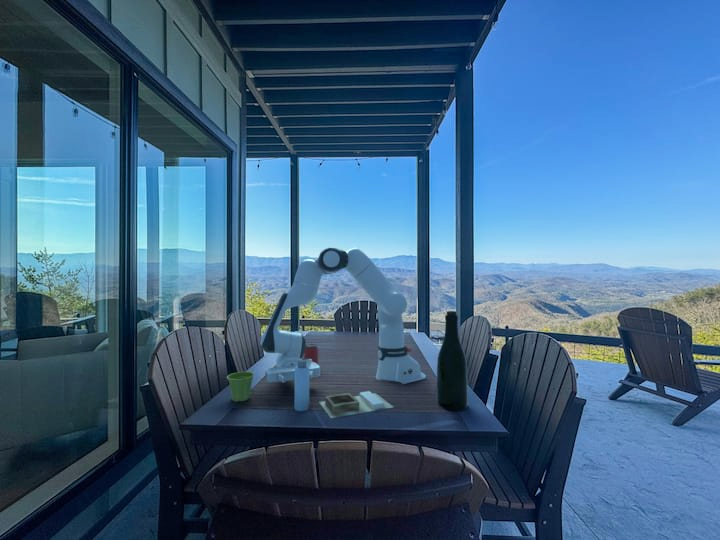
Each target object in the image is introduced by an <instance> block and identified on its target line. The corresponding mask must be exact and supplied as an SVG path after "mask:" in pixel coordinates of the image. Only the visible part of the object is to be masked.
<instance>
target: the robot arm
mask: <svg viewBox="0 0 720 540" xmlns="http://www.w3.org/2000/svg"><path fill="white" fill-rule="evenodd" d="M341 270H345V271H347V272H348V273H349V274H350V275H351V276H352V277H353V279H354V280H355V281H356V283H358V285H359V286H360V287H361V288H362V289H363V290H364V292H365V293H366V294H367V295H368V296H369V297H370V298H371V299H372V300H373V301H374V302H375V304H376V305H377V319H378V320H377V321H378V336H379V337H378V340H379V341H378V345H377V348H378V349H377V356H378V357H377V358H378V359H377V360H378V364H377V370H376V375H375V379H376V380H377V381H380V380H383V381H390V382H398V383H400V384H403V385H405V384H409V383H413V382H417V381H422V380H425V379H427V376H426V374H425V373H423V372H422V370H421V366H420V363H419V362H418V361H417V360H416V359H414V358H413V357H412V356H410V355H409V354H408V353H412V347H409V346H405V327H404V322H403V321H404V320H403V314H404V313H405V312H406V310H407V309H408V301H407V298H406V297H405V295H403V293H402V292H401V291H400V290H399V289H398V288H397V286H396V285H395V284H394V283H393V282H391V281H390V280H389V278H388V277H387V276H385V274H383V272H382V271H381V269H380V268H379V267H378V266H377V265H376V264H375V263H374V262H373V261H372V260H371V258H370V257H369V256H368V255H367V254H366V253H365V252H363V251H362V250H360V248H358V247H351V248H350V249H348V250H347V251H345V250H343V249H340V248H337V247H333V246H330V247H326V248H324V249H322V250H321V251H320V253H319V255H318V258H317V259H312V258H307V259H304V260H302V261H300V264H299V265H298V268H297V270H296V272H295V275H294V276H295V277H294V280H293V283H292V285H291V287H290V288H289V290H288V291H285V292H283V293H282V294H281V296H280V298H279V300H278V302H277V304H276V306H275V308H274V311H273V313H272V315H271V317H270V319H269V322H268V324H267V327H266V328H265V329H264V332H263V333H262V335H261V338H260V344H259V345H260V348H261V349H262V350H263V352H265V353H266V354H267V353H268V354H277V356H276V358H275V365H276V367H275V366H274V367H269V368H268V369H267V370H266V371H264V375H265V376H266V381H267V383H278V382H281V383H283V384H284V383H287V381H288V382H292V381H293V382H294V381H295V367H296V366H298V361H299V360H306V361H307V365H308V366H309V380H313V378H319V377H320V376H321V366H320V365H319V363H318V364H316V363H315V362H312V359H304V352H305V348H306V345H307V344H306V343H307V342H306V338H305V336H304V335H303V333H301V332H296V331H288V330H281V329H279V327H280V324H281V321H282V320H283V317H284V315H285V313H286V312H287V311H288V310H289V309H291V308H294V307H299V306H304V305H308V304H309V303H311V302H313V301H314V300H315V299H316V297H317V295H318V292H319V287H320V283H321V279H322V277H323V276H324V275H333V274H337V273H338V272H340V271H341Z"/></svg>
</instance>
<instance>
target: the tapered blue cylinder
mask: <svg viewBox="0 0 720 540" xmlns="http://www.w3.org/2000/svg"><path fill="white" fill-rule="evenodd" d="M293 404H294V407H293V408H294V411H296V412H306V411H308V410H309V409H310V379H309V366H308V365H307V361H306V360H299V361H298V366H296V367H295V380H294V403H293Z"/></svg>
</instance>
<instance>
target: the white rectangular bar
mask: <svg viewBox="0 0 720 540" xmlns="http://www.w3.org/2000/svg"><path fill="white" fill-rule="evenodd" d="M359 396H360V398H361V399H363V400H364V401H365V402H366V403H367V404H368V405H369V406H370V407H372V408H373V409H378V408H384V402H383V401H381V400H380V399H379V398H378V397H376V396H375V395H374V393H372V392H371V391H370V390H369V391H361V392H359Z"/></svg>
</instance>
